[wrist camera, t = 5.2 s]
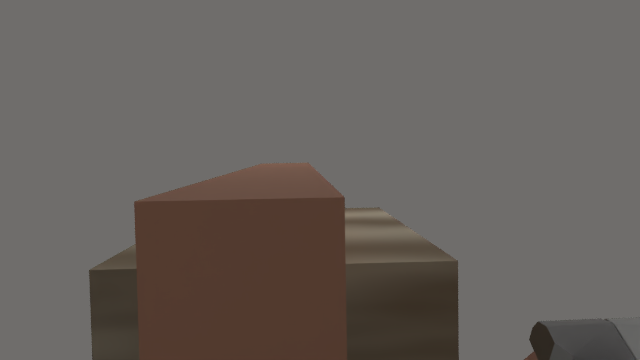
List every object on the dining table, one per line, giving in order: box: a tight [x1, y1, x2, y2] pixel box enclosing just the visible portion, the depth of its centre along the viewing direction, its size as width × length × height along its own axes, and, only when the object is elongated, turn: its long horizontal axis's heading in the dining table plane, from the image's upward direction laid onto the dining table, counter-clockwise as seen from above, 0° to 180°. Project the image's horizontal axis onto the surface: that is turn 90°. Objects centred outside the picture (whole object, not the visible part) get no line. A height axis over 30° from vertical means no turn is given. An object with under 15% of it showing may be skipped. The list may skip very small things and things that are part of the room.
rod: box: [134, 163, 347, 360], centre depth 20 cm, size 25×2×2 cm, turn 2°
